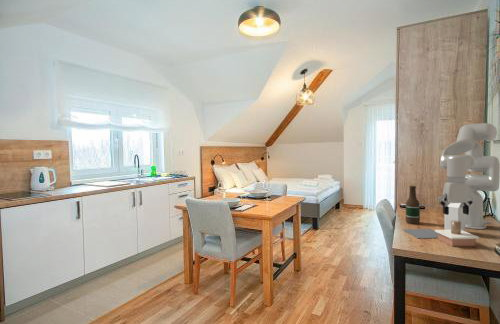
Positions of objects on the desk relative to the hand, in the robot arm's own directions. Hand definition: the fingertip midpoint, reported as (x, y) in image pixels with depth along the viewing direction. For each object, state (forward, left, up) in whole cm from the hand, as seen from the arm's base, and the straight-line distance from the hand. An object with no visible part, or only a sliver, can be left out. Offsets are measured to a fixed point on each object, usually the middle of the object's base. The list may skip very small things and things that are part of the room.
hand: (455, 214), depth 140 cm
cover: (0, 0, -11) cm, 11 cm away
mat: (+7, -15, -15) cm, 22 cm away
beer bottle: (+1, -38, -15) cm, 41 cm away
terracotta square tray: (0, 0, -15) cm, 15 cm away
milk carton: (-11, -17, -15) cm, 25 cm away
